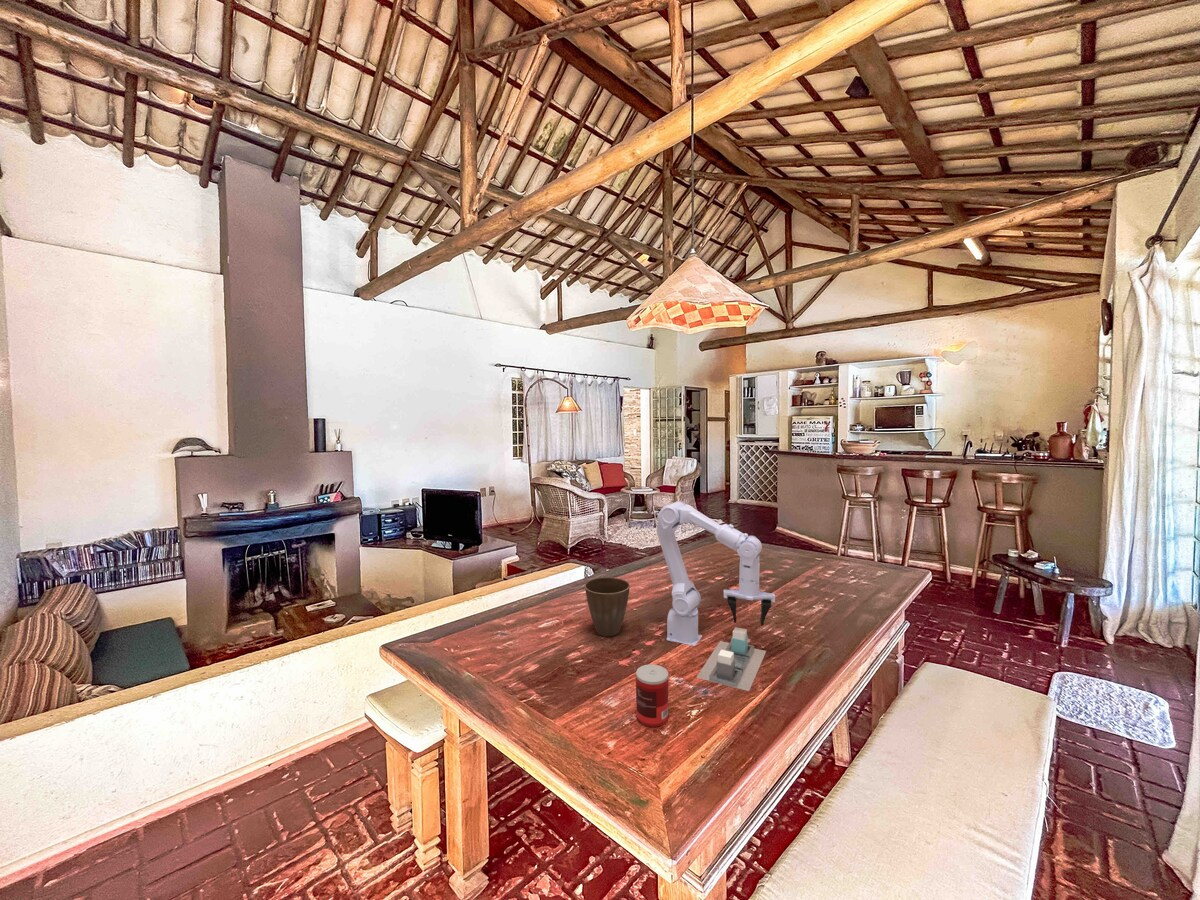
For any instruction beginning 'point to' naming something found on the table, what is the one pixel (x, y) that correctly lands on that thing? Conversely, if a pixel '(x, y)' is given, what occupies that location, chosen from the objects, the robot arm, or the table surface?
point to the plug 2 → (739, 640)
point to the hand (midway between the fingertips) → (748, 622)
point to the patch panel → (743, 667)
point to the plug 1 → (726, 665)
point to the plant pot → (607, 603)
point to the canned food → (652, 695)
